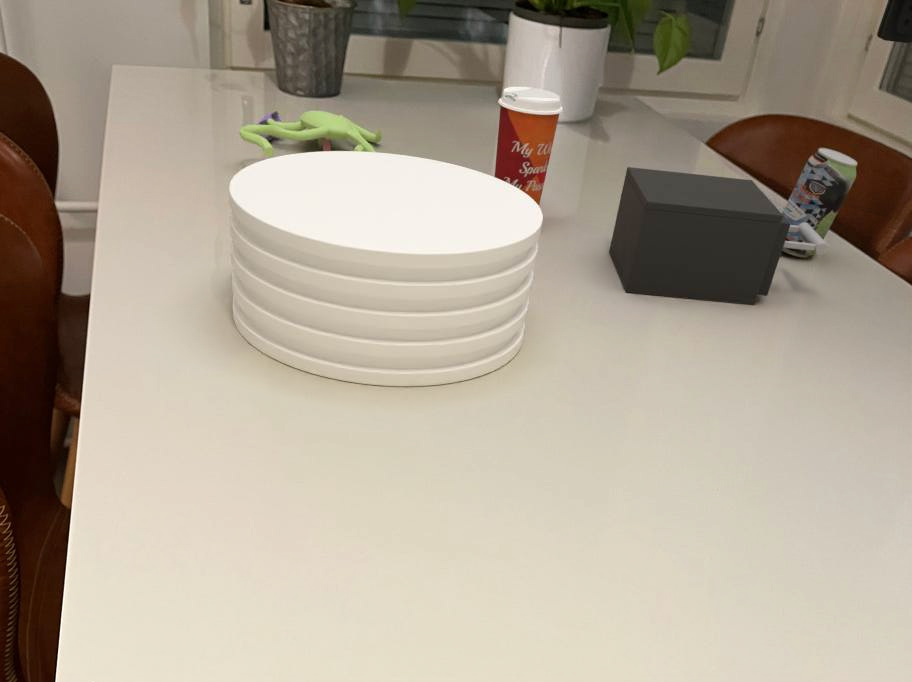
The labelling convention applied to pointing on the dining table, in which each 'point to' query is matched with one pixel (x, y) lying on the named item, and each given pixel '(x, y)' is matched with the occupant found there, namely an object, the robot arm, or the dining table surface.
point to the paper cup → (526, 137)
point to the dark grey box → (693, 236)
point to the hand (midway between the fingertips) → (893, 39)
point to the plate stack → (381, 266)
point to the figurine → (309, 131)
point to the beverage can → (819, 194)
